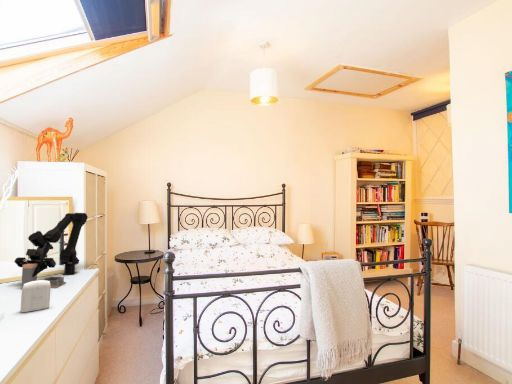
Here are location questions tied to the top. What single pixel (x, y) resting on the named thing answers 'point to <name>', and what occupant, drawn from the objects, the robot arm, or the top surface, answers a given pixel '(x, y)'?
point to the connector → (28, 273)
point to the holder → (56, 281)
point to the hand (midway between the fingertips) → (27, 276)
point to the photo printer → (35, 295)
